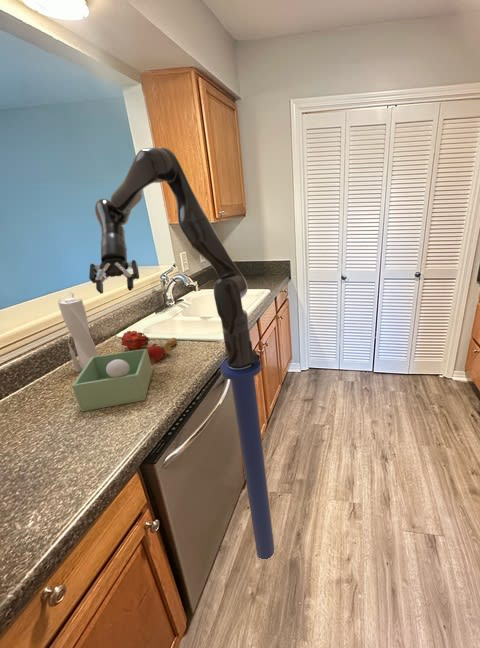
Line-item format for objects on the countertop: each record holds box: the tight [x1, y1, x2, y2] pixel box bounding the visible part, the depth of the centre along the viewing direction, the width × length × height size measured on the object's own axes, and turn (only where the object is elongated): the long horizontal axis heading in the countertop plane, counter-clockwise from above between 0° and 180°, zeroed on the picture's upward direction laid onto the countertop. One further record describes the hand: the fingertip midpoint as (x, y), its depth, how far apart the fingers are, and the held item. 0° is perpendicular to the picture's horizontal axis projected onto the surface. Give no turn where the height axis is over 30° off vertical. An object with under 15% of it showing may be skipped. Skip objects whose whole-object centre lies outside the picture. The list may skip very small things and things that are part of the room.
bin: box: [71, 348, 154, 412], centre depth 105 cm, size 18×20×9 cm
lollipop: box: [106, 359, 129, 378], centre depth 101 cm, size 6×6×15 cm
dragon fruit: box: [120, 330, 151, 351], centre depth 135 cm, size 8×8×12 cm
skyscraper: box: [57, 292, 100, 374], centre depth 118 cm, size 8×8×28 cm
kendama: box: [146, 337, 178, 362], centre depth 130 cm, size 8×6×18 cm
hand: (115, 290), depth 104 cm, fingers open, 8 cm apart
